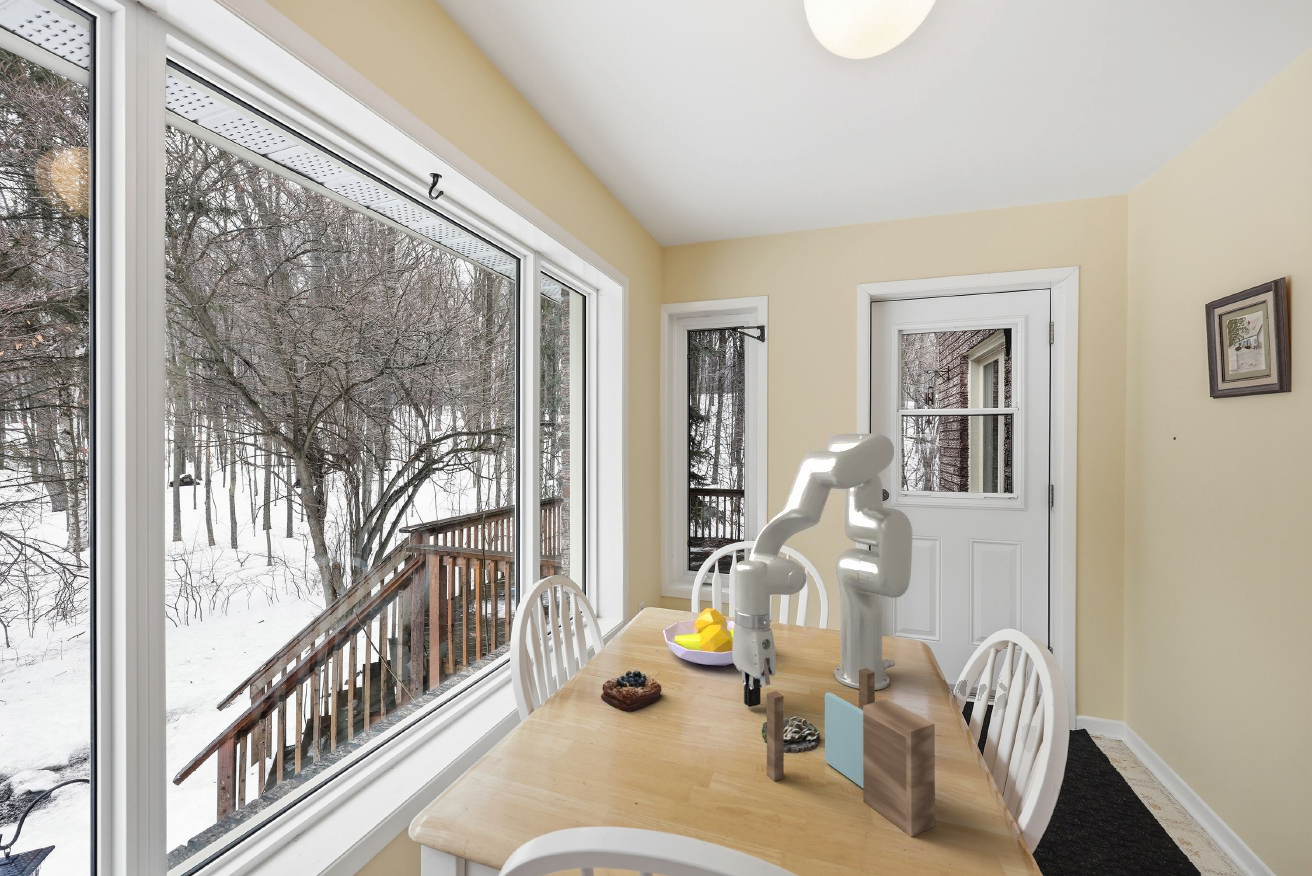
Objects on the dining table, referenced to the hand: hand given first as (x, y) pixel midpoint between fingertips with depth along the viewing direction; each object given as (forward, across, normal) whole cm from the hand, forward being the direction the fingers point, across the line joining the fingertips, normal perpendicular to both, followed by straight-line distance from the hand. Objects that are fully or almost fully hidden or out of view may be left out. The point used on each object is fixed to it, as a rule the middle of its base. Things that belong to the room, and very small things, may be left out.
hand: (752, 704), depth 117 cm
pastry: (+2, +16, +21) cm, 27 cm away
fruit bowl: (+1, +28, -9) cm, 30 cm away
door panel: (+1, -27, 0) cm, 27 cm away
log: (+2, -12, 0) cm, 12 cm away
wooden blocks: (+1, -31, 0) cm, 31 cm away
